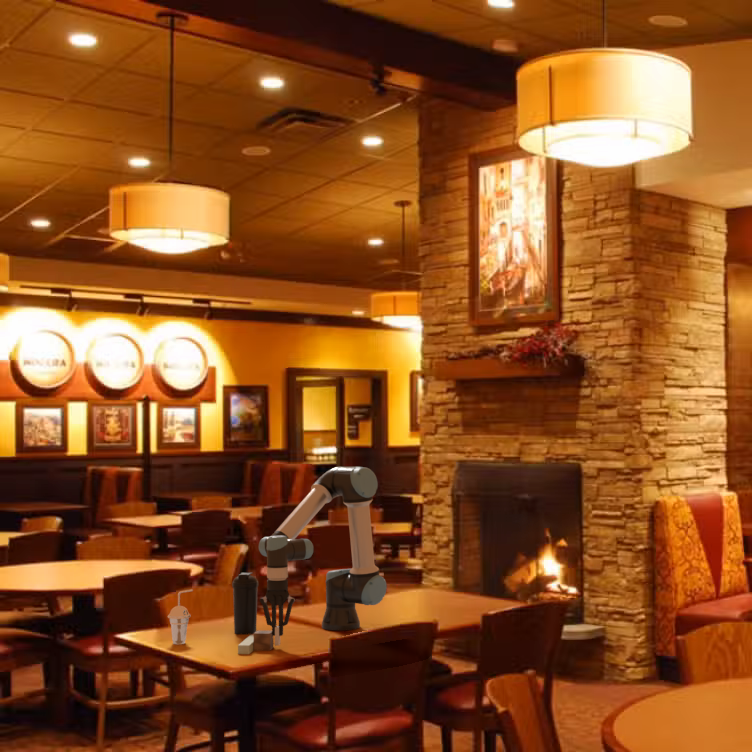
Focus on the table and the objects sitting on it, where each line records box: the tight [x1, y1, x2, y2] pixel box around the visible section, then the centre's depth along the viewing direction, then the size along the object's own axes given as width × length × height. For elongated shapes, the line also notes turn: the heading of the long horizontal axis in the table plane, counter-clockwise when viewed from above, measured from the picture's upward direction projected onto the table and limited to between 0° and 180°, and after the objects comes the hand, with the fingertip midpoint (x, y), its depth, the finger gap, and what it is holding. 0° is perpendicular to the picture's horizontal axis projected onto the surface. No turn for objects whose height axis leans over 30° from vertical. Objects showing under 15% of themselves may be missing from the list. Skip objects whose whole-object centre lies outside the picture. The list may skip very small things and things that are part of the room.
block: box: [253, 629, 274, 652], centre depth 404 cm, size 6×6×6 cm
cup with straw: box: [167, 588, 194, 646], centre depth 415 cm, size 8×9×20 cm
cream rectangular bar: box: [237, 634, 255, 655], centre depth 404 cm, size 4×20×3 cm, turn 174°
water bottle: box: [231, 572, 259, 635], centre depth 437 cm, size 10×10×23 cm
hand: (277, 644), depth 403 cm, fingers closed
